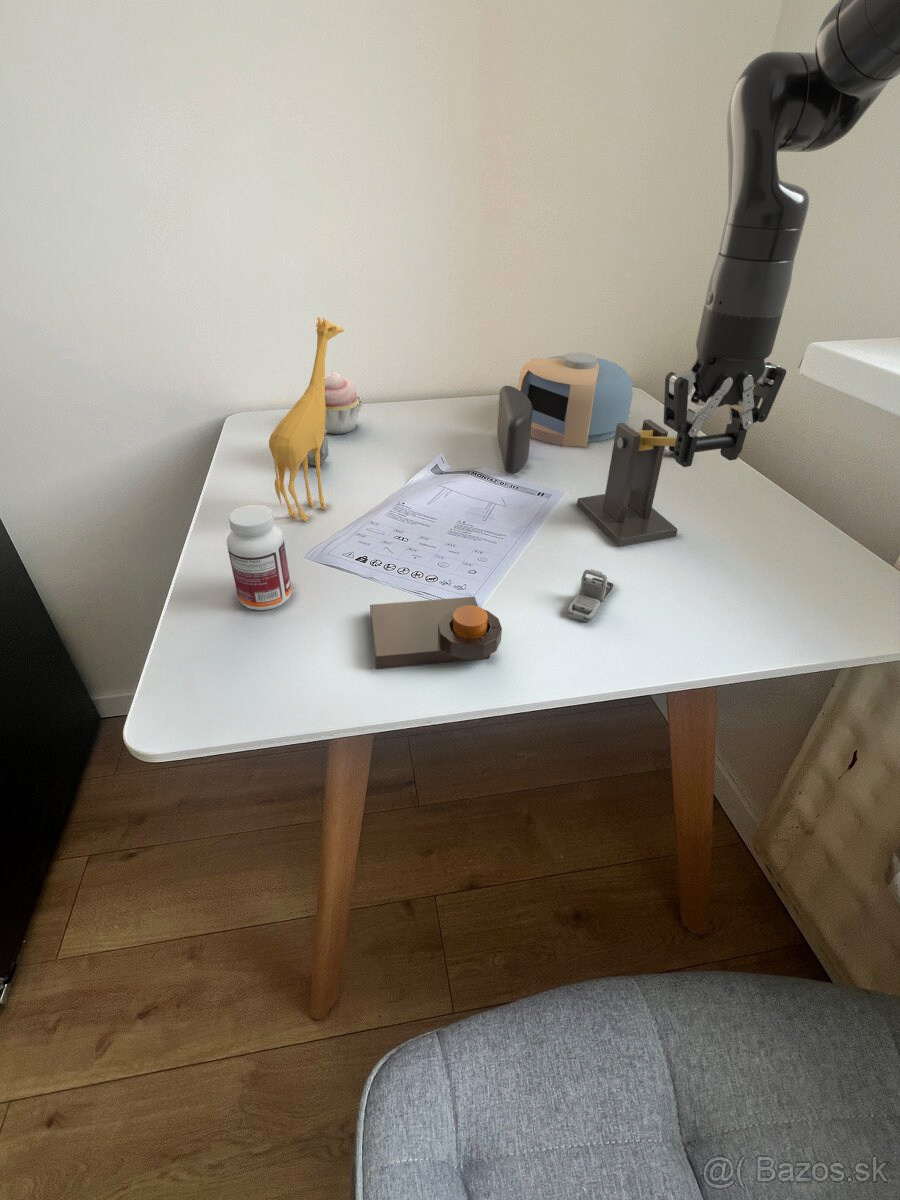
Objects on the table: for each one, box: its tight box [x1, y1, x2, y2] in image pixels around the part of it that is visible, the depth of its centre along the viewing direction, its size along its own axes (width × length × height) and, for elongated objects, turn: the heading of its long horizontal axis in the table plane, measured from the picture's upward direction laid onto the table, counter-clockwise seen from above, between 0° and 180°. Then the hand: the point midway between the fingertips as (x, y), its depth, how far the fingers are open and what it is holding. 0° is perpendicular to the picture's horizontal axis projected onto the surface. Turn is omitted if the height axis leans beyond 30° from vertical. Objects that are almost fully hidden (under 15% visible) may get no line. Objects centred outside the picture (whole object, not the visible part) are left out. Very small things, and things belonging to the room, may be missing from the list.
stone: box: [307, 428, 329, 467], centre depth 109 cm, size 9×7×10 cm
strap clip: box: [567, 568, 614, 622], centre depth 81 cm, size 8×3×4 cm, turn 150°
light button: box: [453, 605, 488, 639], centre depth 72 cm, size 4×4×2 cm
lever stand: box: [576, 419, 679, 547], centre depth 94 cm, size 12×9×14 cm
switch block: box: [369, 596, 503, 670], centre depth 75 cm, size 13×11×4 cm
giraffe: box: [268, 316, 345, 522], centre depth 93 cm, size 16×4×25 cm, turn 152°
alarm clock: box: [517, 351, 633, 448], centre depth 123 cm, size 19×20×12 cm
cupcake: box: [325, 370, 365, 435], centre depth 120 cm, size 9×9×10 cm
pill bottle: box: [226, 504, 292, 611], centre depth 79 cm, size 6×6×11 cm
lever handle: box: [635, 429, 735, 454], centre depth 85 cm, size 16×6×2 cm, turn 20°
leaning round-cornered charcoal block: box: [496, 385, 533, 475], centre depth 112 cm, size 16×5×9 cm, turn 1°
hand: (705, 460), depth 80 cm, fingers closed on lever handle, 5 cm apart
